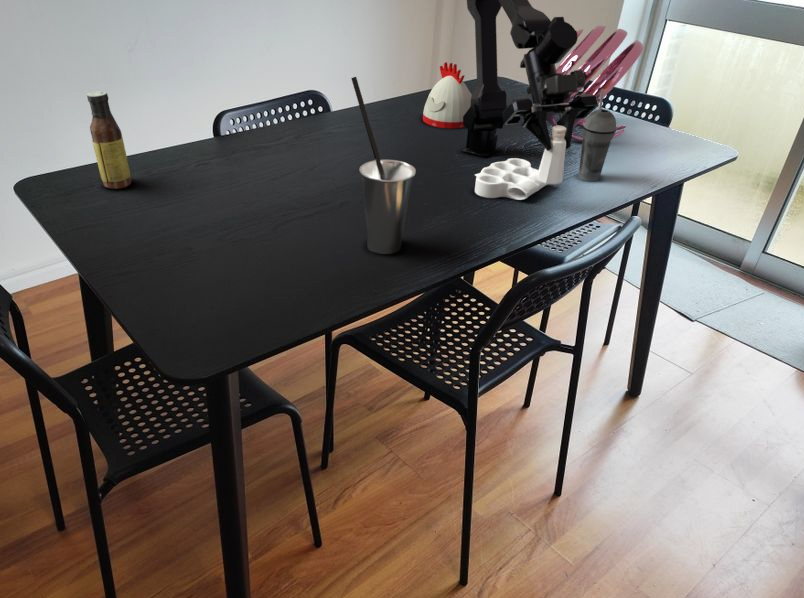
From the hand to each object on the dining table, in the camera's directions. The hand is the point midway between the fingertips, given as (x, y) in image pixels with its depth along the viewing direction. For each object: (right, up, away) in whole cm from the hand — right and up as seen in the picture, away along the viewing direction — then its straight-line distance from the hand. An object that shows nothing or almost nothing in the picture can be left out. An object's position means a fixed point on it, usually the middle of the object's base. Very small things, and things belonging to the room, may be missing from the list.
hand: (558, 149), depth 142 cm
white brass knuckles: (-6, -4, +18) cm, 19 cm away
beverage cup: (+13, 0, +23) cm, 26 cm away
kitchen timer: (-15, +23, +55) cm, 61 cm away
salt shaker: (0, -5, +5) cm, 7 cm away
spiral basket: (+18, +17, +47) cm, 54 cm away
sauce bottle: (-94, -4, +15) cm, 95 cm away
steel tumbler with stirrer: (-36, -21, -6) cm, 42 cm away
